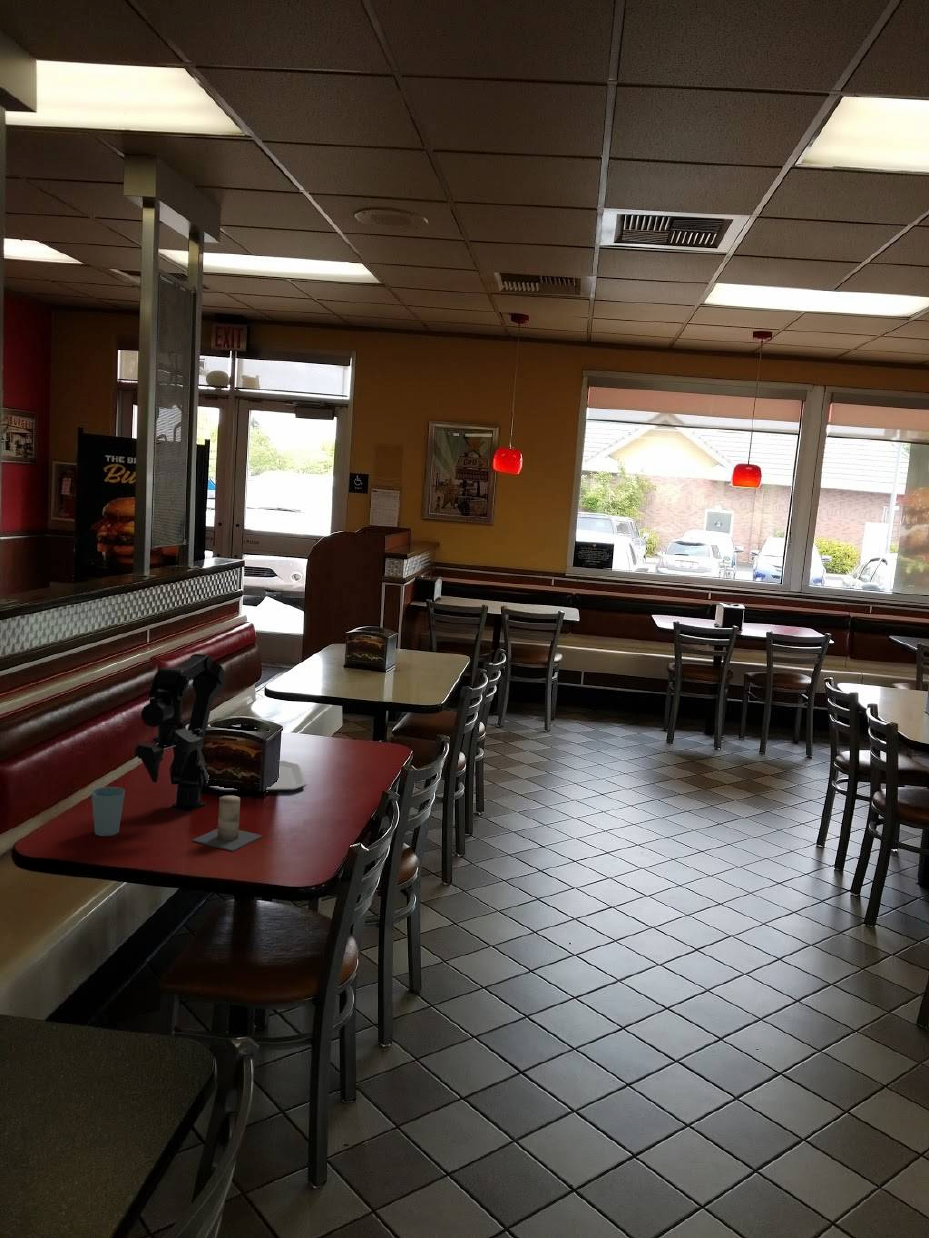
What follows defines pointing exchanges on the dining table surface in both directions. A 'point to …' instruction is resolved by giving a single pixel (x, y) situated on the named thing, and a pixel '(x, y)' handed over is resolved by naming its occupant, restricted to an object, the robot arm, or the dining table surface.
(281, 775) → the plate
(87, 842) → the dining table surface
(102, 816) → the cup
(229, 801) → the beige cylinder
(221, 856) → the dining table surface
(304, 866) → the dining table surface
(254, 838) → the placemat
